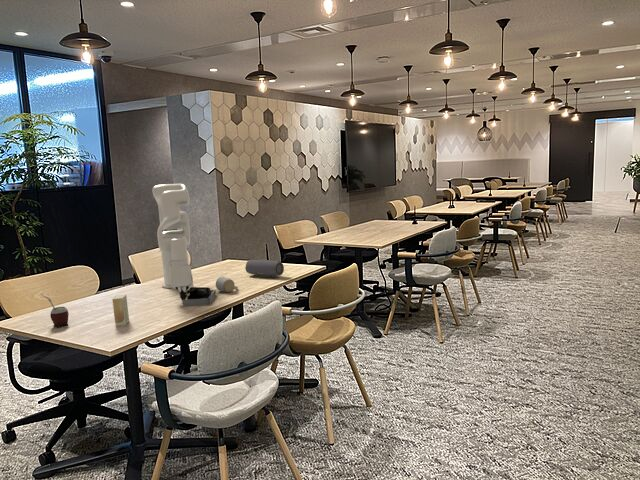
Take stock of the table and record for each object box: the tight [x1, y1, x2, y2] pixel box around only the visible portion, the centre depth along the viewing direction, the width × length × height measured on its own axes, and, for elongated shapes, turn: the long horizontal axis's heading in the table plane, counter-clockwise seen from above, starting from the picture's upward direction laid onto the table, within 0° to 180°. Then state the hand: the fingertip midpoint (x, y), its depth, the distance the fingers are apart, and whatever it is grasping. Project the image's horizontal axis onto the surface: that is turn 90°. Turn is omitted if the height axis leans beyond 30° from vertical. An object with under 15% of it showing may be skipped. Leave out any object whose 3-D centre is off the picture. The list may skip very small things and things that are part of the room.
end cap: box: [186, 286, 212, 300], centre depth 253 cm, size 10×7×7 cm
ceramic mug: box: [215, 276, 239, 293], centre depth 271 cm, size 11×8×8 cm
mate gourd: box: [42, 295, 70, 329], centre depth 222 cm, size 8×8×15 cm
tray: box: [181, 289, 217, 307], centre depth 254 cm, size 18×13×3 cm
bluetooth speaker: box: [244, 259, 285, 278], centre depth 303 cm, size 23×9×10 cm, turn 58°
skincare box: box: [112, 294, 130, 327], centre depth 220 cm, size 6×4×12 cm
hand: (183, 299), depth 253 cm, fingers closed
